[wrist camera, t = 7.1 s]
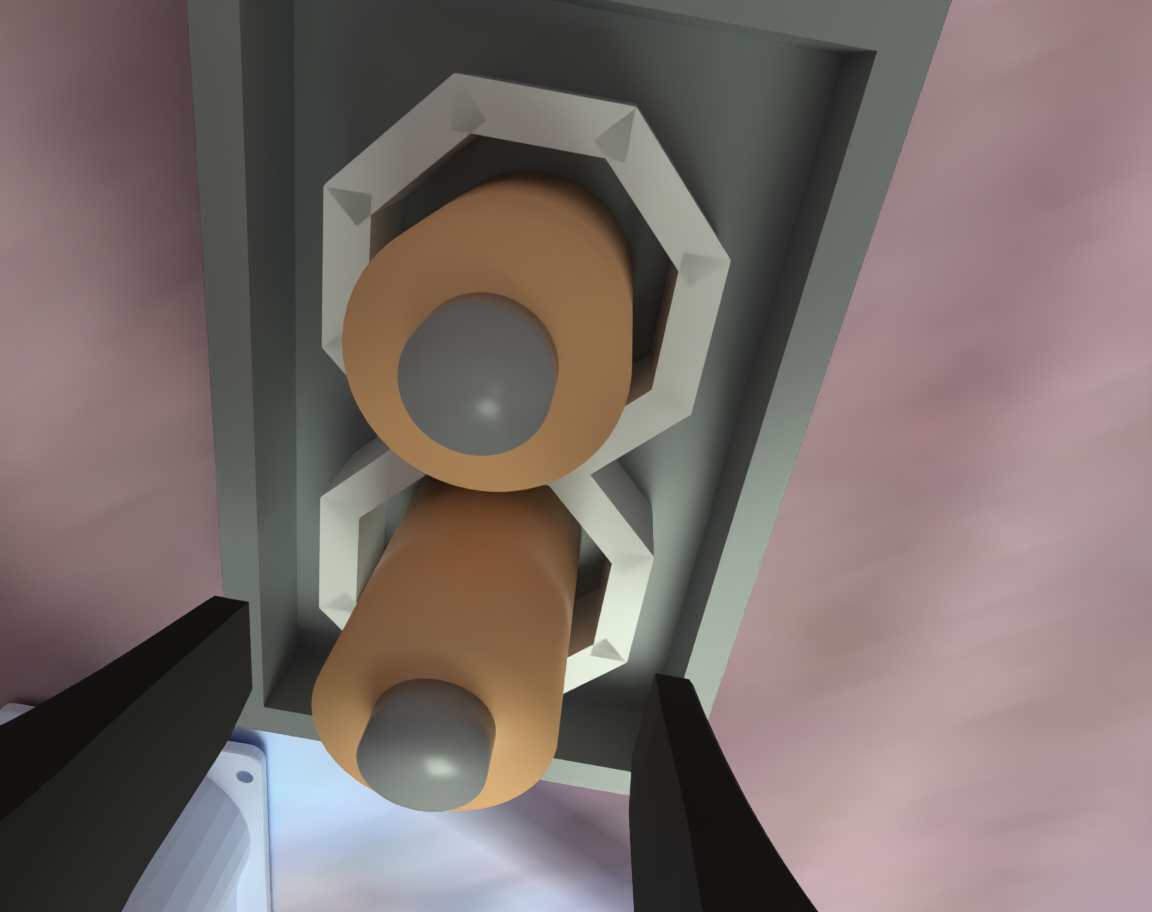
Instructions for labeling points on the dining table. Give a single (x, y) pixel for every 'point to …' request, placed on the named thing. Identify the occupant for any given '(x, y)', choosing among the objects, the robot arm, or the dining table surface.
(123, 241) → the dining table surface
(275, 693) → the housing
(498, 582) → the orange battery
